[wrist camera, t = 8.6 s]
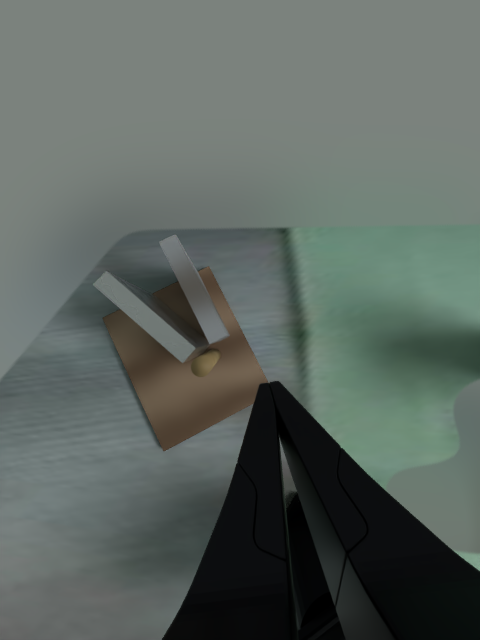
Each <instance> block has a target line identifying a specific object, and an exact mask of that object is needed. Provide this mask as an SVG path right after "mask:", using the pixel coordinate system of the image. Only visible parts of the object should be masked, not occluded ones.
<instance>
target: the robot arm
mask: <svg viewBox="0 0 480 640" xmlns="http://www.w3.org/2000/svg"><path fill="white" fill-rule="evenodd" d="M279 437H280V441H281V444H282V447H283V450H284V453H285V456H286V459H287V462H288V465H289V469H290V472H291V475H292V478H293V481H294V484H295V487H296V490H297V493H298V494H297V495H296V496H295V497H294V499H293V500H292V502H291V504H290V506H289V507H288V509H287V511H286V503H285V493H284V482H283V472H282V461H281V451H280V441H279ZM237 462H238V463H237V464H236V467H235V471H234V474H233V478H232V481H231V484H230V487H229V490H228V493H227V496H226V499H225V502H224V504H223V507H222V510H221V512H220V515H219V518H218V520H217V523H216V525H215V528H214V530H213V533H212V535H211V538H210V540H209V543H208V545H207V548H206V550H205V553H204V555H203V558H202V560H201V563H200V565H199V567H198V570H197V572H196V575H195V577H194V580H193V582H192V584H191V586H190V589H189V591H188V593H187V595H186V597H185V599H184V601H183V603H182V605H181V607H180V609H179V611H178V613H177V615H176V617H175V618H174V620H173V622H172V624H171V625H170V627H169V628H168V630H167V632H166V633H165V635H164V637H163V638H162V640H480V571H479V570H477V569H476V568H475V567H473V566H472V565H471V564H469V563H468V562H467V561H465V560H464V559H463V558H461V557H460V556H459V555H458V554H456V553H455V552H454V551H453V550H452V549H450V548H449V547H448V546H447V545H446V544H445V543H444V542H442V541H441V540H440V539H439V538H438V537H437V536H436V535H434V534H433V533H432V532H431V531H430V530H429V529H428V528H427V527H426V526H424V525H423V524H422V523H421V522H420V521H419V520H418V519H417V518H416V517H414V516H413V515H412V514H411V513H410V512H409V511H408V510H407V509H405V508H404V507H403V506H402V505H401V504H400V503H399V502H398V501H397V500H395V499H394V498H393V497H392V496H391V495H390V494H389V493H388V492H386V491H385V490H384V489H383V488H382V487H381V486H380V485H379V484H378V483H377V482H376V481H375V480H374V479H372V478H371V477H370V476H369V475H368V474H367V473H366V472H365V471H364V470H363V469H362V468H361V467H360V466H359V465H358V464H357V463H356V462H355V461H354V460H353V459H352V458H351V457H350V456H349V455H348V453H347V452H346V451H345V450H344V449H343V448H341V447H340V445H339V444H338V443H337V442H336V441H335V440H334V439H333V438H332V437H331V436H330V435H329V434H328V432H327V431H326V430H325V429H324V428H323V427H322V426H321V425H320V424H319V423H318V422H317V421H316V420H315V419H314V418H313V417H312V416H311V414H310V413H309V412H308V411H307V410H306V409H305V408H304V407H303V406H302V405H301V404H300V403H299V402H298V401H297V400H296V399H295V398H294V397H293V395H292V394H291V393H290V392H289V391H288V390H287V389H286V388H285V387H284V386H283V385H282V384H281V383H280V382H279V381H274V382H270V383H261V384H259V387H258V390H257V394H256V397H255V401H254V404H253V408H252V411H251V415H250V418H249V422H248V425H247V429H246V432H245V436H244V439H243V443H242V446H241V450H240V454H239V457H238V461H237ZM299 500H300V502H298V501H299Z"/></svg>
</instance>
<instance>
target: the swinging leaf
mask: <svg viewBox="0 0 480 640" xmlns="http://www.w3.org/2000/svg"><path fill="white" fill-rule="evenodd" d="M93 285H94V286H95V287H96V288H97V289H98V290H99V291H101V292H102V293H103V294H104V295H105V296H106V297H107V298H109V299H110V300H111V301H112V302H113V303H114V304H115V305H117V306H118V307H119V308H120V309H121V310H122V311H123V312H125V313H126V314H127V315H128V316H129V317H130V318H131V319H133V320H134V321H135V322H136V323H137V324H138V325H139V326H141V327H142V328H143V329H144V330H145V331H146V332H147V333H149V334H150V335H151V336H152V337H153V338H154V339H155V340H157V341H158V342H159V343H160V344H161V345H162V346H163V347H165V348H166V349H167V350H168V351H169V352H170V353H171V354H173V355H174V356H175V357H176V358H177V359H178V360H179V361H181V362H182V363H184V362H186V361H188V360H190V359H192V358H194V357H196V356H198V355H200V354H202V353H204V352H205V350H206V349H207V348H208V347H209V346H210V345H211V344H209V342H208V341H207V340H206V339H205V338H204V337H203V336H202V335H200V334H199V333H198V332H197V331H196V330H195V329H193V328H192V327H191V326H190V325H189V324H188V323H186V322H185V321H184V320H183V319H182V318H181V317H179V316H178V315H177V314H176V313H175V312H174V311H173V310H171V309H170V308H169V307H168V306H167V305H166V304H164V303H163V302H162V301H161V300H160V299H159V298H157V297H156V296H155V295H153V294H151V293H149V292H147V291H145V290H143V289H141V288H139V287H137V286H135V285H133V284H132V283H130V282H128V281H126V280H124V279H122V278H120V277H118V276H116V275H114V274H112V273H110V272H108V271H105V272H104V274H103V275H102V276H101V277H100V278H99V279H98V280H97V281H96V282H95V283H94V284H93Z"/></svg>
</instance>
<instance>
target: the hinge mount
mask: <svg viewBox="0 0 480 640" xmlns="http://www.w3.org/2000/svg"><path fill="white" fill-rule="evenodd" d="M159 243H160V245H161V247H162V249H163V251H164V253H165V255H166V257H167V259H168V261H169V263H170V265H171V267H172V269H173V271H174V273H175V275H176V277H177V279H178V281H177V282H175V283H173V284H171V285H169V286H167V287H165V288H163V289H161V290H159V291H157V292H155V293H153V295H155V296H156V297H157V298H159V299H160V300H161V301H162V302H163V303H164V304H166V305H167V306H168V307H169V308H170V309H171V310H173V311H174V312H175V313H176V314H177V315H178V316H179V317H181V318H182V319H183V320H184V321H185V322H186V323H188V324H189V325H190V326H191V327H192V328H193V329H195V330H196V331H197V332H198V333H199V334H200V335H202V336H203V337H204V338H205V339H206V340H207V341H208V342H209V344H211V345H210V346H209V347H208V348H207V349H206V350H205V352H204V353H202V354H200V355H198V356H196V357H194V358H192V359H190V360H188V361H186V362H184V363H182V362H181V361H179V360H178V359H177V358H176V357H175V356H174V355H173V354H171V353H170V352H169V351H168V350H167V349H166V348H165V347H163V346H162V345H161V344H160V343H159V342H158V341H157V340H155V339H154V338H153V337H152V336H151V335H150V334H149V333H147V332H146V331H145V330H144V329H143V328H142V327H141V326H139V325H138V324H137V323H136V322H135V321H134V320H133V319H131V318H130V317H129V316H128V315H127V314H126V313H125V312H123V311H122V310H121V309H120V310H118V311H116V312H114V313H112V314H109V315H107V316H105V317H103V321H104V323H105V325H106V327H107V329H108V332H109V334H110V336H111V338H112V340H113V342H114V345H115V347H116V349H117V351H118V353H119V355H120V358H121V360H122V362H123V364H124V366H125V369H126V371H127V373H128V375H129V377H130V379H131V382H132V384H133V386H134V388H135V390H136V392H137V395H138V397H139V399H140V401H141V403H142V405H143V408H144V410H145V412H146V414H147V416H148V419H149V421H150V423H151V425H152V427H153V429H154V432H155V434H156V436H157V438H158V440H159V442H160V445H161V447H162V449H163V451H166V450H168V449H169V448H171V447H173V446H175V445H177V444H179V443H181V442H182V441H184V440H186V439H188V438H190V437H192V436H194V435H196V434H197V433H199V432H201V431H203V430H205V429H207V428H209V427H210V426H212V425H214V424H216V423H218V422H220V421H222V420H223V419H225V418H227V417H229V416H231V415H233V414H235V413H236V412H238V411H240V410H242V409H244V408H246V407H248V406H250V405H251V404H253V403H254V401H255V397H256V394H257V390H258V387H259V384H261V383H268V381H267V379H266V377H265V375H264V373H263V371H262V369H261V367H260V365H259V363H258V361H257V360H256V358H255V356H254V354H253V352H252V350H251V348H250V346H249V344H248V342H247V340H246V338H245V336H244V334H243V332H242V330H241V328H240V326H239V324H238V322H237V320H236V318H235V316H234V314H233V313H232V311H231V309H230V307H229V305H228V303H227V301H226V299H225V297H224V295H223V293H222V291H221V289H220V287H219V285H218V283H217V281H216V279H215V277H214V275H213V273H212V271H211V269H210V268H209V266H208V267H206V268H204V269H202V270H200V271H197V270H196V268H195V266H194V265H193V263H192V261H191V260H190V258H189V256H188V254H187V253H186V251H185V249H184V248H183V246H182V244H181V243H180V241H179V239H178V237H177V236H176V234H175V235H173V236H171V237H168V238H166V239H164V240H162V241H160V242H159Z"/></svg>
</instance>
